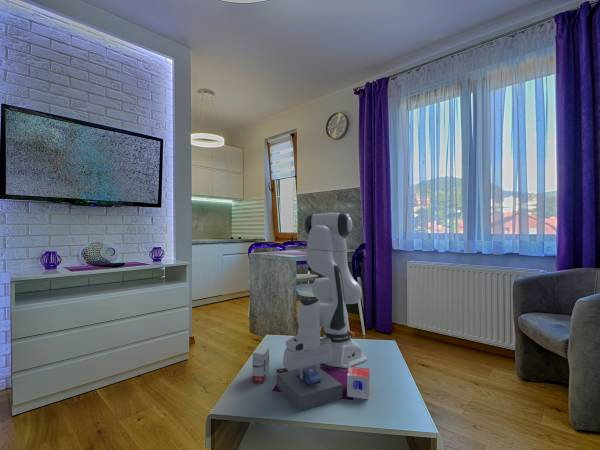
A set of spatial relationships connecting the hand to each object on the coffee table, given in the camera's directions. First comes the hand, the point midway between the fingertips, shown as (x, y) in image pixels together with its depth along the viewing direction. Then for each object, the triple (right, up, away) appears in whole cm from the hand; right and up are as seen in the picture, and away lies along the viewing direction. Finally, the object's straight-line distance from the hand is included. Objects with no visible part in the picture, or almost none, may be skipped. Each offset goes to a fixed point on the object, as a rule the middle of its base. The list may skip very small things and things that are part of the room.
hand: (308, 377), depth 120 cm
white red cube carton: (+19, -6, 0) cm, 20 cm away
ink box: (-20, -6, +11) cm, 23 cm away
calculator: (-6, -7, +16) cm, 18 cm away
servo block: (0, -4, 0) cm, 4 cm away
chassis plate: (0, -6, 0) cm, 6 cm away
